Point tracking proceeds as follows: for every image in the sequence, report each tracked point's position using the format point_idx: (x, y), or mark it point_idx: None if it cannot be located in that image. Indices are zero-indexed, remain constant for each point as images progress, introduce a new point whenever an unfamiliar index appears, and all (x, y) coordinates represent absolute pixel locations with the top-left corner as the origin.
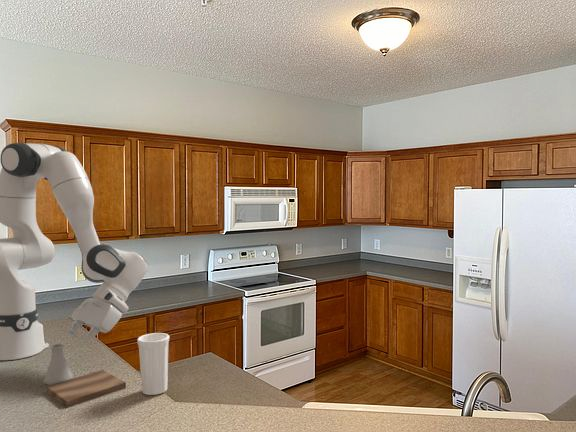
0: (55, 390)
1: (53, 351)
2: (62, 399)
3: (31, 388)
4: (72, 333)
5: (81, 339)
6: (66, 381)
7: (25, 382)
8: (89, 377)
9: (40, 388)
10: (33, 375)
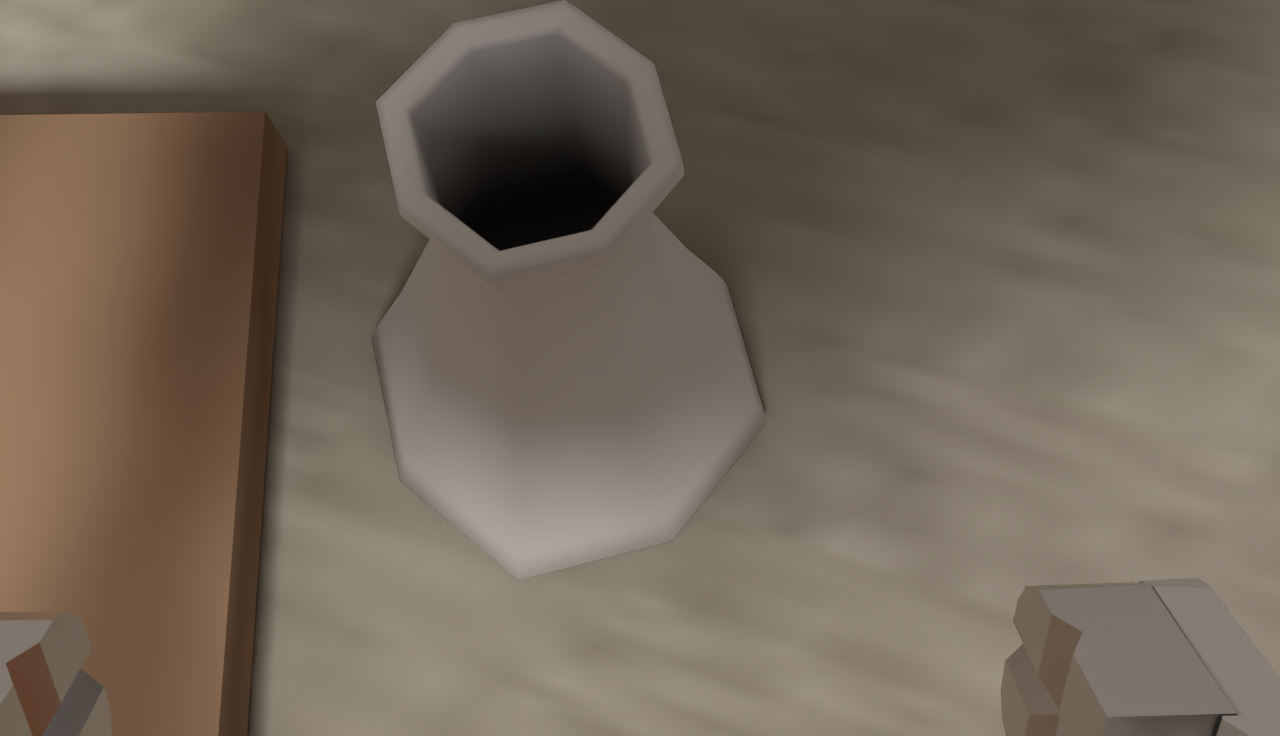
0: (3, 143)
1: (503, 95)
2: None
3: None
4: (1057, 697)
5: (4, 613)
6: (200, 355)
7: (852, 73)
8: None
9: None
10: (1059, 214)
